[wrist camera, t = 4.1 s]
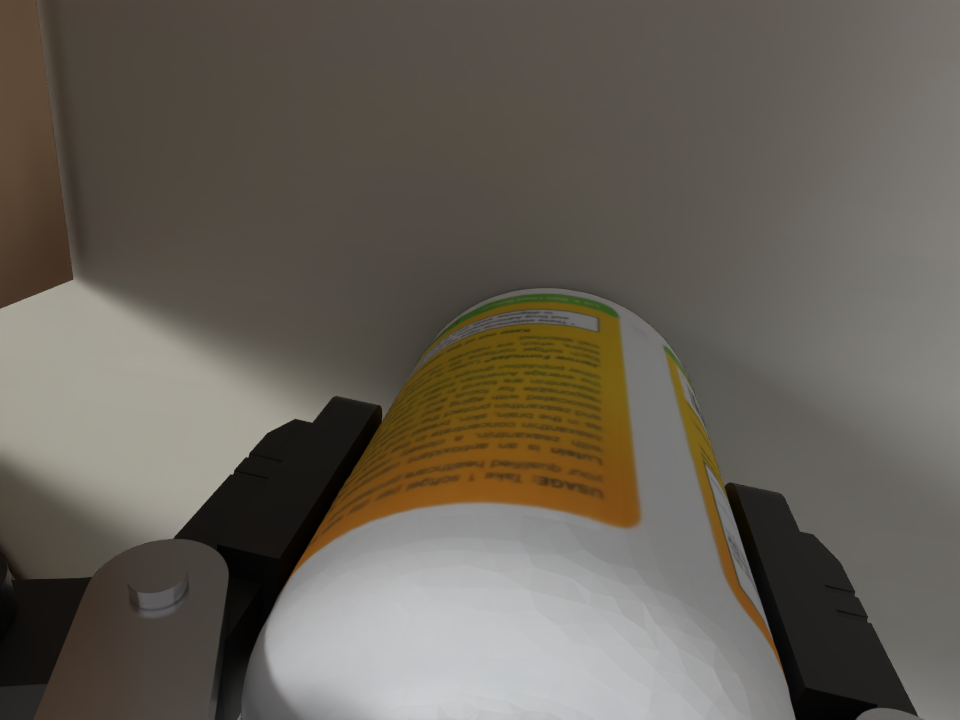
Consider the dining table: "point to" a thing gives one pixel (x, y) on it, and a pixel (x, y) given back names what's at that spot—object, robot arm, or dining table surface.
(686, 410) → the supplement bottle
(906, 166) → the dining table surface
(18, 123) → the door
